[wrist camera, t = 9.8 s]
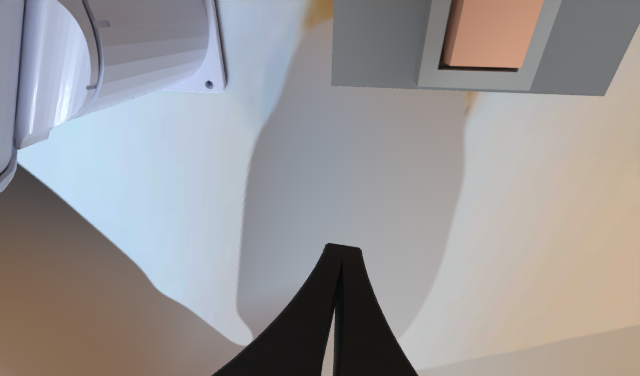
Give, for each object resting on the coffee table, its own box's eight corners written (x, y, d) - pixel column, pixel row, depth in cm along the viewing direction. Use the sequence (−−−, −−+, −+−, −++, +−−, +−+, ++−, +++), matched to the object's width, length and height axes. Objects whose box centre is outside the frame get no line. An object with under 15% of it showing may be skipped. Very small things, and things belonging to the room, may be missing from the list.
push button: (439, 60, 15) (449, 65, 13) (454, -12, 13) (467, -16, 12) (502, 62, 14) (521, 67, 13) (524, -11, 13) (549, -16, 11)
